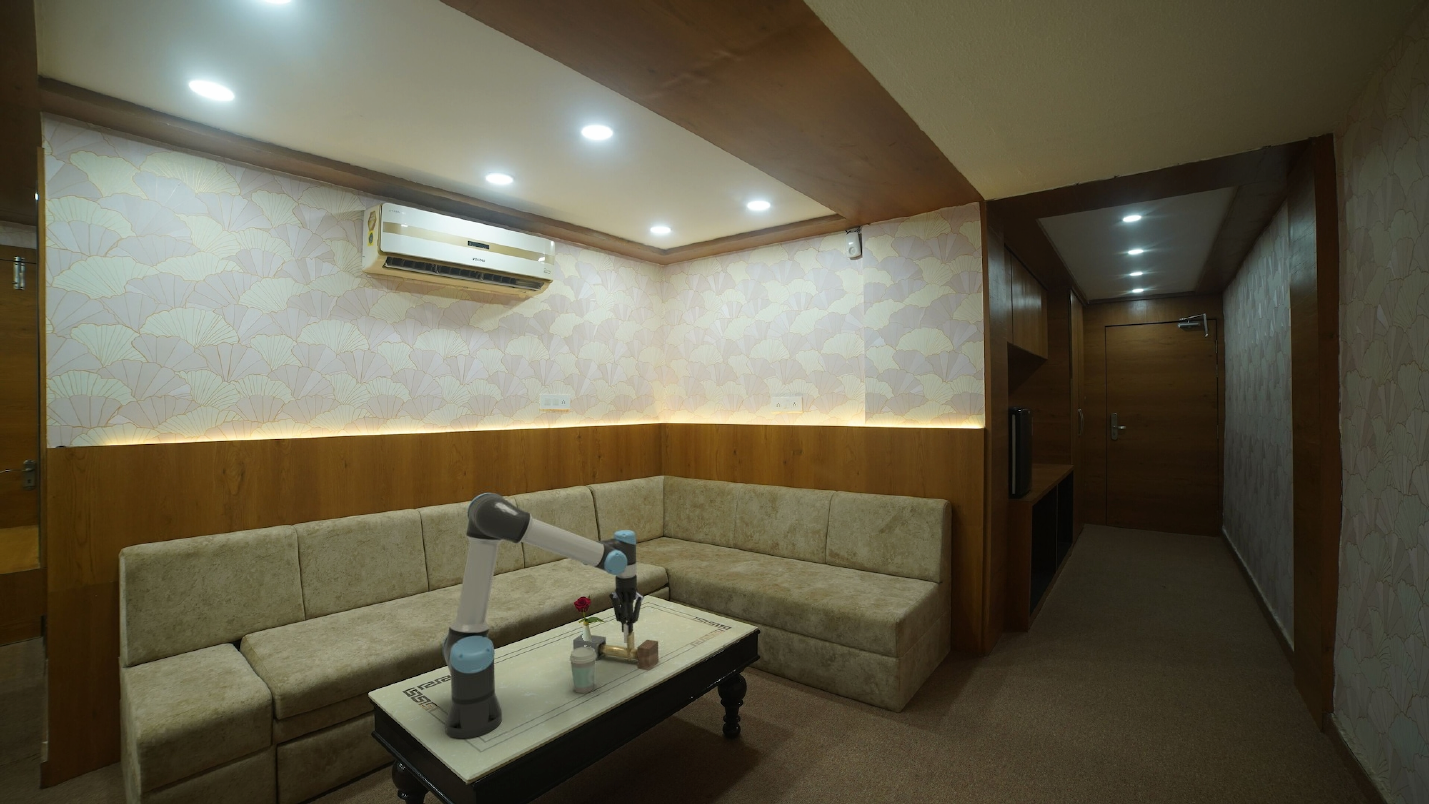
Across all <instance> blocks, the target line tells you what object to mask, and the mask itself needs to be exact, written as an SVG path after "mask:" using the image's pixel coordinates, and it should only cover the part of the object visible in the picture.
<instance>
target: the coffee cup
mask: <svg viewBox="0 0 1429 804" xmlns="http://www.w3.org/2000/svg"><path fill="white" fill-rule="evenodd" d="M596 657H597V655H596V652H595V650H594V649H593V648H591V647H581V648H577V649H575V650H572V651H571V653H570V655H569V662H570V666H571V673H572V681H573V687H574V691H575V693H578V694H586V693H590V692H591V691H593V689H594V682H595V672H596V671H595V670H596V662H597V661H596Z"/></svg>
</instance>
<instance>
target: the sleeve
mask: <svg viewBox="0 0 1429 804" xmlns="http://www.w3.org/2000/svg"><path fill="white" fill-rule="evenodd" d="M583 634H584V633H581V634H580V635H578V636H577V637H575V638H574V639H573V640H572V641H573V642H572V645H573V648H572V649H573V650H575V649H577V648H581V647H584V645H587V646H586V647H590V646H591V648H593V649H594V650H595V652H596V655H597V657H596V661H595V662H598V661H599V660H601V658H603V657H604V656H605V655H603V654H598V645H600V644H605V645H607V637H606V636H599V635H596V634H595V635H593V634H590V635H591V639H592V642H590V641H584V640H583V638H582V635H583ZM573 650H572V651H573Z"/></svg>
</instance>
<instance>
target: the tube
mask: <svg viewBox="0 0 1429 804" xmlns="http://www.w3.org/2000/svg"><path fill="white" fill-rule="evenodd" d="M598 654H603V655H604V656H609V657H615V658H617V657H618V658H623V659H627V661H631V660H636V661H638V658H637V648H636V647H635V632H634V631H633V632H632V633H630V634H628V635H627V643H626V647H625V646H619V645H612V644H611V645H610V644H606V645H605V644H600V645H598Z"/></svg>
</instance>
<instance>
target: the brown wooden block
mask: <svg viewBox="0 0 1429 804" xmlns="http://www.w3.org/2000/svg"><path fill="white" fill-rule="evenodd" d="M636 649H637V658H638V660H637V669H640V670H647V671H650V670H651V669H653V667H654V666H656V664H658V662H659V640H652V639H646V640H644V641H643V642H642V643H640V644H639V645H638V646H637V648H636Z"/></svg>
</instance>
